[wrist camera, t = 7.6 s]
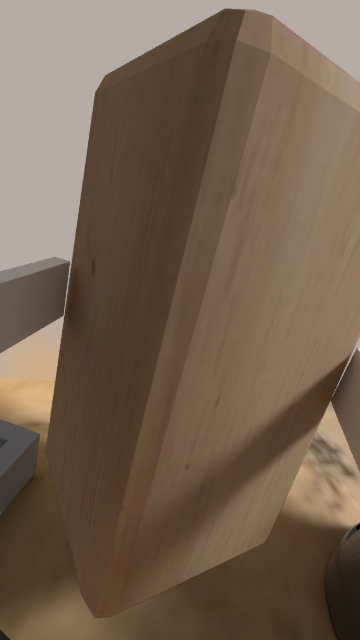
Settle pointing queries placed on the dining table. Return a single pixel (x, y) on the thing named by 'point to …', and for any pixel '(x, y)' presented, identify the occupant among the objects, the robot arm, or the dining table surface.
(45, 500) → the dining table surface
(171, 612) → the dining table surface
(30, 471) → the gray square tray
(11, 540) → the dining table surface
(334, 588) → the robot arm
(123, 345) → the wooden block
